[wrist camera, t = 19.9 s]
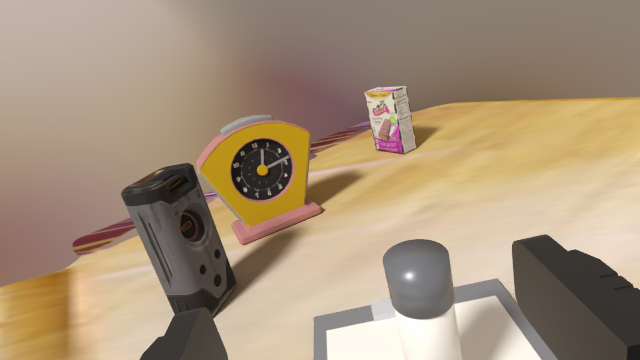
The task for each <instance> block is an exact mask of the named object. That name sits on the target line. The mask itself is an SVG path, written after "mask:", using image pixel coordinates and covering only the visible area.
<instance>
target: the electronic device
mask: <svg viewBox="0 0 640 360" xmlns="http://www.w3.org/2000/svg"><path fill="white" fill-rule="evenodd" d="M121 196H122V198H123V200H124V202H125V205H126V207H127V209H128V211H129V214H130V216H131V218H132V220H133V222H134V225H135V227H136V229H137V231H138V233H139V236H140V238H141V240H142V242H143V245H144V247H145V249H146V251H147V254H148V256H149V258H150V260H151V262H152V265H153V267H154V269H155V271H156V274H157V276H158V278H159V280H160V283H161V285H162V287H163V289H164V291H165V294H166V296H167V298H168V300H169V303H170V305H171V307H172V309H173V311H174V314H176V313H180V312H184V311H189V310H193V309H198V308H203V307H206V308H207V309H208V310H209V311H210V313H211V316H212V317H213V316H214V314H215V313H216V312H217V310H218V309H219V308H220V307H221V305H222V304H223V303H224V301H225V300H226V299H227V297H228V296H229V295H230V293H231V292H232V291H233V289H234V288H235V286H236V280H235V277H234V275H233V272H232V269H231V267H230V264H229V261H228V259H227V256H226V253H225V250H224V248H223V245H222V242H221V240H220V237H219V234H218V232H217V229H216V226H215V224H214V221H213V218H212V216H211V213H210V210H209V208H208V205H207V202H206V200H205V197H204V194H203V192H202V189H201V186H200V184H199V181H198V178H197V176H196V173H195V170H194V167H193V165H191V164H189V163H185V164H179V165H173V166H168V167H164V168H161V169H159V170H157V171H155V172H153V173H152V174H150V175H148V176H146V177H144V178H143V179H141V180H139V181H137V182H135V183H134V184H132V185H130V186H128V187H126V188H125V189H124V190H123V191H122V193H121Z"/></svg>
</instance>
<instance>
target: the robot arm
mask: <svg viewBox="0 0 640 360" xmlns="http://www.w3.org/2000/svg"><path fill="white" fill-rule="evenodd" d="M512 258H513V271H514V285H515V294H516V299H517V302H518V304H519V307H520V309H521V311H522V313H523V315H524V316H525V318H526V319H527V320H528V322H529V323H530V324H531V325H532V327H533V328H534V329H535V331H536V332H537V333H538V334H539V336H540V337H541V338H542V340H543V341H544V342H545V344H546V345H547V346H548V347H549V349H550V350H551V351H552V353H553V354H554V355H555V356H556V358H557V359H558V360H640V290H639V289H638V288H634V287H633V284H631V283H630V282H629V281H627V280H626V279H625V278H623V277H622V276H618V274H617V272H615V271H614V270H613V269H612V268H610V267H609V266H608V265H606V264H605V263H604V262H602V261H601V260H600V259H598V258H595V257H593V256H590V255H588V254H585V253H583V252H581V251H578V250H576V249H575V250H570V251H567V250H566V249H564V248H563V247H562V246H561V245H560V244H558V243H557V242H556V241H555V240H554V239H552V238H551V237H550V236H548V235H540V236H535V237H531V238H526V239H521V240H517V241H514V242H513V244H512ZM140 360H228V357H227V352H226V350H225V347H224V345H223V342H222V340H221V337H220V335H219V333H218V330H217V328H216V325H215V323H214V320H213V318H212V316H211V313H210V311H209V310H208V309H207V308H206V307H203V308H198V309H193V310H189V311H184V312H180V313H176V314H175V315H174V317H173V319H172V321H171V323H170V325H169V327H168V329H167V331H166V333H165V335H164V336H162V337H158V338H157V339H156V340H155V341H154V342H153V344H152V345H151V346H150V347H149V348H148V349H147V350H146V351H145V352H144V353H143V354H142V356H141V358H140Z"/></svg>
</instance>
